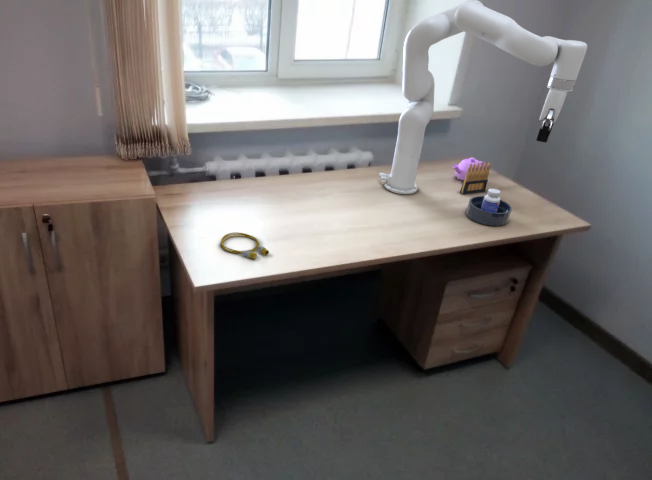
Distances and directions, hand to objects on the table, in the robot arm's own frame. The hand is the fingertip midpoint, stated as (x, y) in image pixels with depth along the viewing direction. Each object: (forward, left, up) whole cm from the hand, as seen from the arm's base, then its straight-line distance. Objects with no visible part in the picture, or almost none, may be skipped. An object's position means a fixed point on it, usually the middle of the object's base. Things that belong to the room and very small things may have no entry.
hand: (542, 137), depth 174 cm
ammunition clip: (-17, +13, -29) cm, 36 cm away
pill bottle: (-10, -8, -28) cm, 31 cm away
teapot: (-21, +24, -29) cm, 43 cm away
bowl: (-10, -8, -28) cm, 31 cm away
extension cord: (-76, -69, -29) cm, 106 cm away
